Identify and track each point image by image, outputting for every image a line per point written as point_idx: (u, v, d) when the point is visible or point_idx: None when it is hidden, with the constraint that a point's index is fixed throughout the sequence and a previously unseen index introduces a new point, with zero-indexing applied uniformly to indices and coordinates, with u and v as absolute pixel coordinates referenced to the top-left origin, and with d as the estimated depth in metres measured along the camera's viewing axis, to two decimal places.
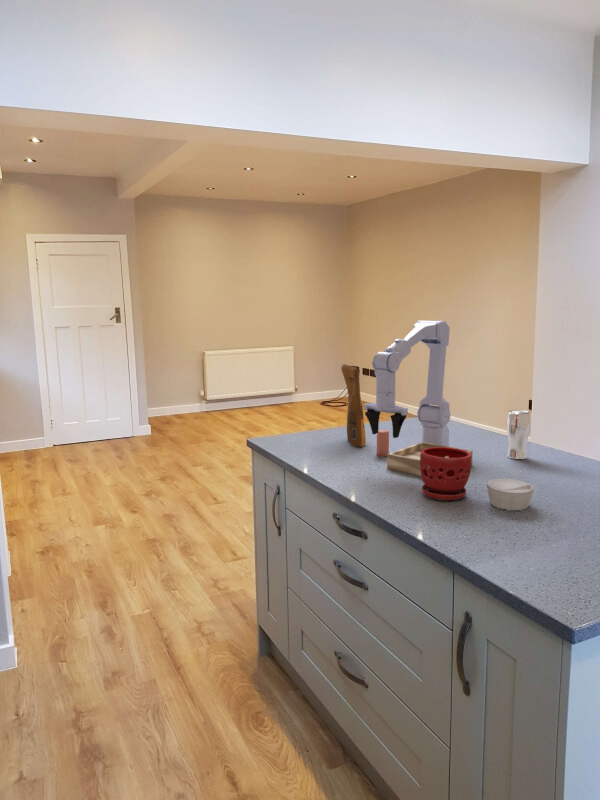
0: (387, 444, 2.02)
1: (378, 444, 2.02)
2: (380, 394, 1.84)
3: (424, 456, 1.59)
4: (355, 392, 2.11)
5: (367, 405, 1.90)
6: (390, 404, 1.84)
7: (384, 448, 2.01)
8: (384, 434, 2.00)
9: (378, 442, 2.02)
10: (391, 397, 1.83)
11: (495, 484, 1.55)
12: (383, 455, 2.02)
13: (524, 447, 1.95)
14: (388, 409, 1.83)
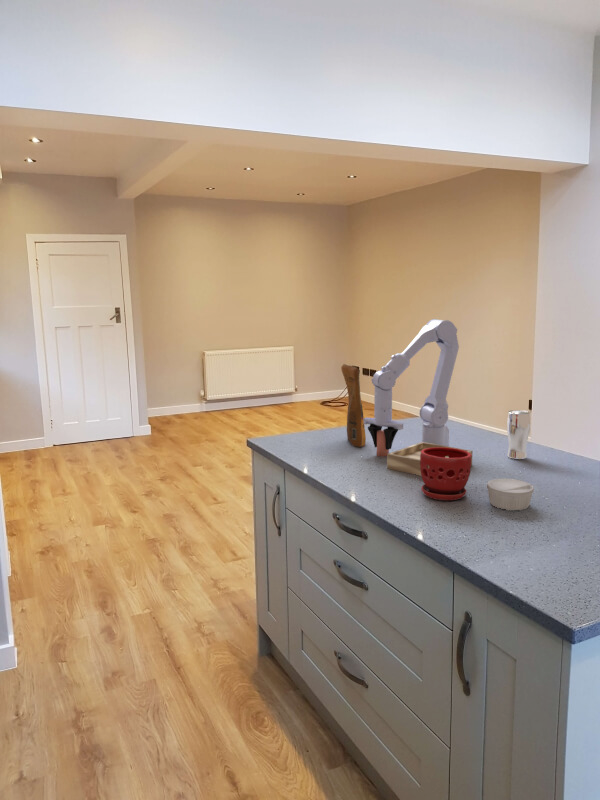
0: None
1: (378, 444, 2.02)
2: (378, 410, 1.99)
3: (424, 456, 1.59)
4: (355, 392, 2.11)
5: (366, 420, 2.05)
6: (387, 419, 1.99)
7: (384, 448, 2.01)
8: (384, 434, 2.00)
9: (378, 442, 2.02)
10: (388, 413, 1.99)
11: (495, 484, 1.55)
12: (383, 455, 2.02)
13: (524, 447, 1.95)
14: (385, 424, 1.98)
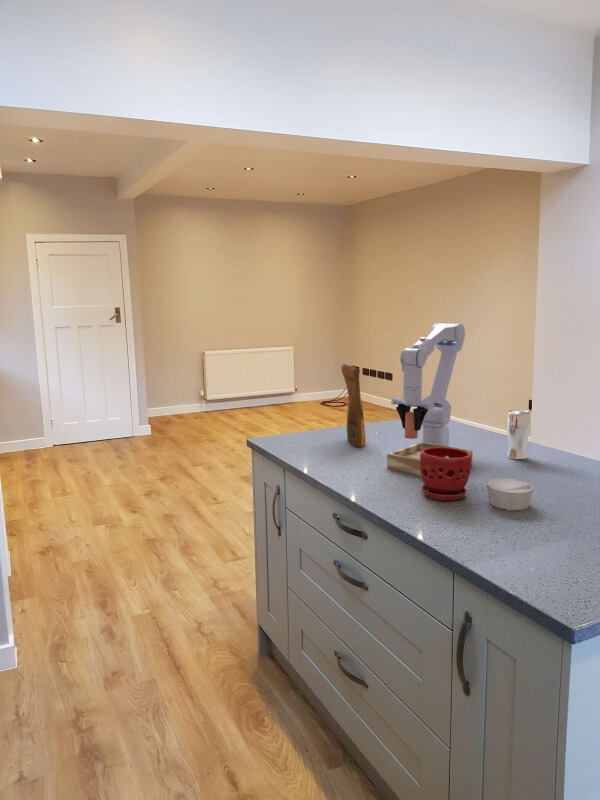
0: None
1: (407, 426, 1.93)
2: (407, 389, 1.90)
3: (424, 456, 1.59)
4: (355, 392, 2.11)
5: (394, 400, 1.96)
6: (417, 398, 1.90)
7: (413, 430, 1.92)
8: (413, 415, 1.91)
9: (407, 423, 1.93)
10: (418, 392, 1.90)
11: (495, 484, 1.55)
12: (412, 437, 1.93)
13: (524, 447, 1.95)
14: (415, 403, 1.89)
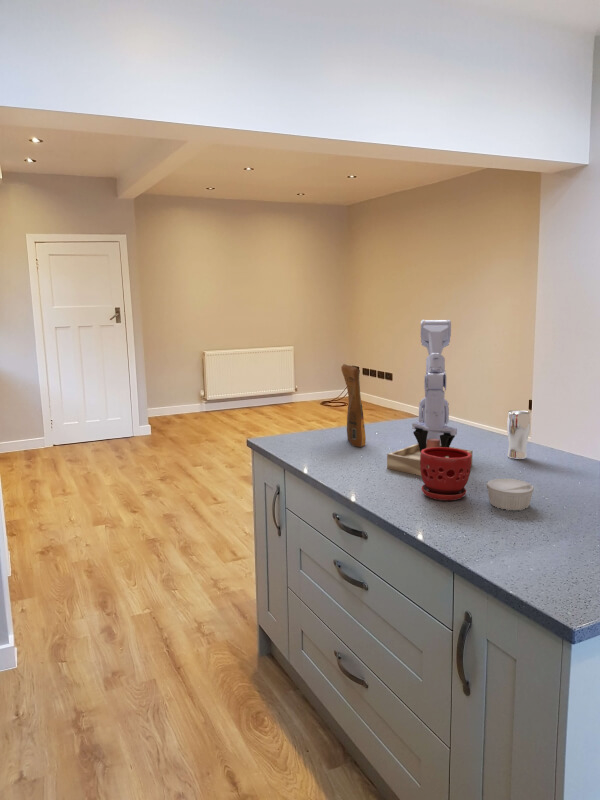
0: None
1: None
2: (429, 414, 1.86)
3: (424, 456, 1.59)
4: (355, 392, 2.11)
5: (415, 424, 1.92)
6: (439, 424, 1.86)
7: None
8: (435, 443, 1.88)
9: None
10: (441, 417, 1.86)
11: (495, 484, 1.55)
12: None
13: (524, 447, 1.95)
14: (437, 429, 1.85)
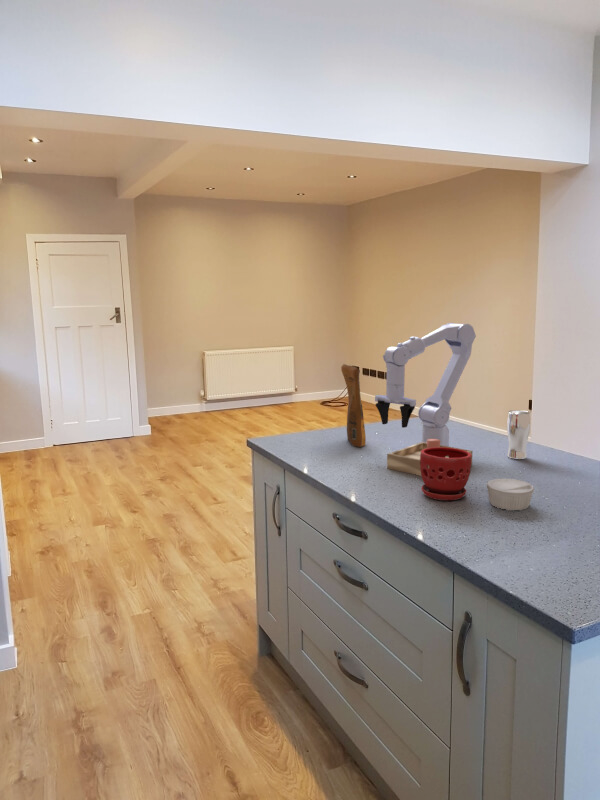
0: None
1: None
2: (390, 386, 1.95)
3: (424, 456, 1.59)
4: (355, 392, 2.11)
5: (377, 397, 2.01)
6: (399, 395, 1.95)
7: None
8: (435, 443, 1.88)
9: None
10: (401, 389, 1.95)
11: (495, 484, 1.55)
12: None
13: (524, 447, 1.95)
14: (397, 400, 1.95)
